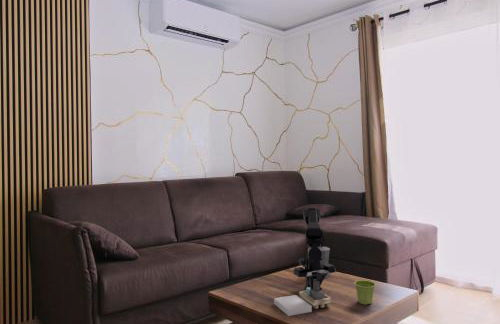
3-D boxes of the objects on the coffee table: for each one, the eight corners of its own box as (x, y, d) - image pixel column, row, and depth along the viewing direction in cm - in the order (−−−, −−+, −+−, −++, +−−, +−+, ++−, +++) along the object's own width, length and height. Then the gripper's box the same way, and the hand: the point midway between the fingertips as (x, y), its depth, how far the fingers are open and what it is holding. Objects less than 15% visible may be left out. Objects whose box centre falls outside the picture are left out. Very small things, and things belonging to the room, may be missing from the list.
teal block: (313, 292, 188) (313, 286, 188) (317, 295, 186) (316, 288, 185) (306, 294, 187) (306, 287, 187) (309, 296, 184) (309, 289, 184)
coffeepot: (319, 271, 233) (318, 240, 232) (334, 273, 228) (334, 241, 227) (307, 278, 220) (307, 245, 219) (324, 281, 215) (323, 247, 214)
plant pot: (377, 300, 186) (377, 281, 186) (374, 307, 177) (374, 287, 177) (356, 297, 190) (356, 279, 190) (352, 304, 181) (352, 285, 181)
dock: (295, 300, 188) (295, 294, 188) (311, 311, 174) (311, 306, 174) (274, 303, 184) (274, 298, 184) (288, 315, 170) (288, 310, 170)
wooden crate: (316, 296, 191) (316, 275, 191) (331, 305, 179) (331, 283, 178) (299, 298, 188) (299, 277, 188) (313, 309, 175) (313, 286, 175)
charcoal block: (320, 297, 182) (320, 290, 182) (324, 299, 179) (324, 293, 179) (313, 298, 181) (312, 292, 181) (316, 301, 178) (316, 294, 178)
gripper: (323, 248, 194) (323, 281, 194) (287, 253, 187) (288, 286, 187) (335, 254, 183) (336, 288, 183) (299, 258, 177) (299, 294, 177)
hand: (314, 289), depth 183 cm, fingers closed on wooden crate, 3 cm apart
